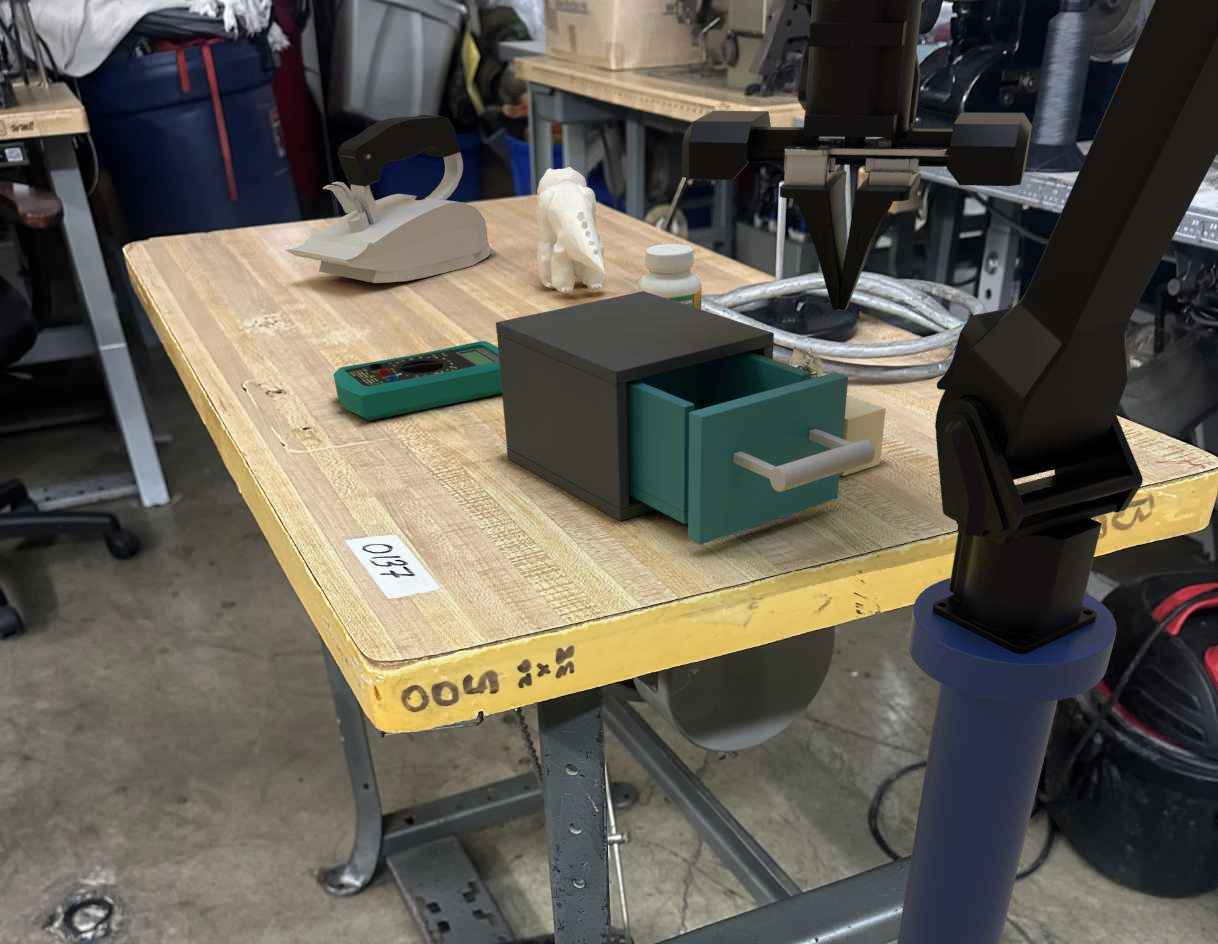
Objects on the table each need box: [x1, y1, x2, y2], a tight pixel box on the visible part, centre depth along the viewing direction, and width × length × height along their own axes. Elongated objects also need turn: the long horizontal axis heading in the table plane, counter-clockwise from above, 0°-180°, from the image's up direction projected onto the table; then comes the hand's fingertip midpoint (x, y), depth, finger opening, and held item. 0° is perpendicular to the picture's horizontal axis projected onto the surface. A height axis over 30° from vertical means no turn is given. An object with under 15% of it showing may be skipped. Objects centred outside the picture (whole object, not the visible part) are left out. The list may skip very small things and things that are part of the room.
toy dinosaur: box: [535, 166, 607, 294], centre depth 120 cm, size 7×24×11 cm, turn 15°
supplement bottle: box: [637, 243, 703, 310], centre depth 99 cm, size 5×5×10 cm
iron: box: [285, 114, 492, 284], centre depth 130 cm, size 11×24×15 cm, turn 139°
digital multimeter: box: [333, 340, 502, 422], centre depth 97 cm, size 7×15×3 cm, turn 119°
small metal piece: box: [789, 346, 824, 379], centre depth 96 cm, size 6×2×3 cm, turn 22°
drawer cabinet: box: [495, 291, 775, 522], centre depth 81 cm, size 15×13×10 cm
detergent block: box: [840, 395, 887, 477], centre depth 82 cm, size 4×4×4 cm
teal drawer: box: [626, 351, 875, 545], centre depth 74 cm, size 18×11×8 cm, turn 34°
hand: (840, 308), depth 71 cm, fingers closed
